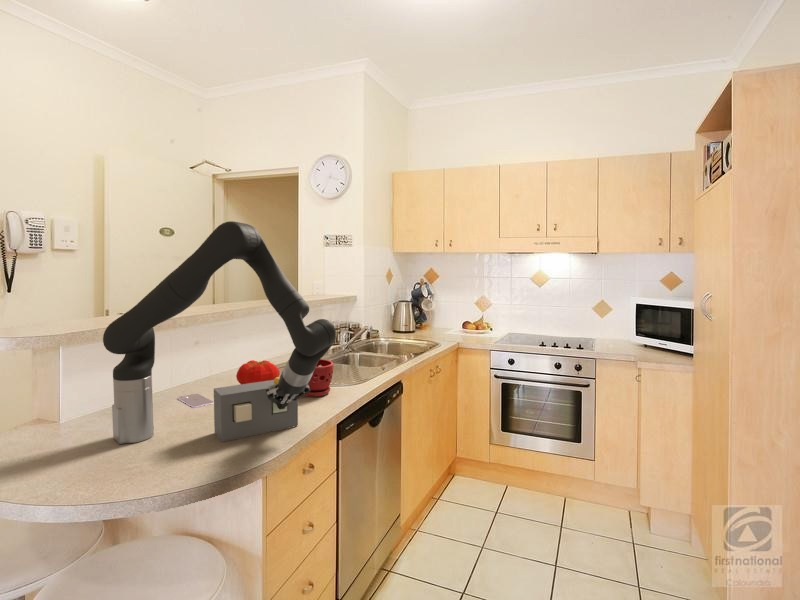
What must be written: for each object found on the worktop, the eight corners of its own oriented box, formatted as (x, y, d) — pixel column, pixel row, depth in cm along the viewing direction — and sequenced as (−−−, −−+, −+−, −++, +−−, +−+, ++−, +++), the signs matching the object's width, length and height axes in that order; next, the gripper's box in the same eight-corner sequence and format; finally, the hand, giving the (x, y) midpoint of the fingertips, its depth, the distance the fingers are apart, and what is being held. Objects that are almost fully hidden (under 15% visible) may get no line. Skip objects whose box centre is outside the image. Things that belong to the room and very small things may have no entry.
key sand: (251, 419, 128) (251, 404, 127) (236, 422, 125) (236, 407, 125) (247, 415, 131) (247, 401, 130) (232, 418, 128) (231, 403, 128)
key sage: (287, 410, 135) (287, 396, 135) (273, 413, 133) (273, 399, 132) (282, 407, 139) (282, 393, 138) (268, 409, 136) (268, 395, 136)
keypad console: (297, 426, 138) (297, 375, 137) (221, 441, 125) (220, 386, 124) (287, 418, 144) (287, 370, 143) (214, 432, 132) (213, 380, 130)
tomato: (286, 386, 181) (286, 361, 180) (247, 394, 169) (246, 368, 168) (268, 379, 191) (268, 356, 190) (230, 386, 179) (229, 361, 178)
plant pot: (297, 399, 164) (297, 366, 163) (297, 389, 176) (297, 358, 175) (334, 397, 167) (334, 365, 166) (331, 387, 179) (331, 357, 178)
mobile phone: (193, 406, 153) (176, 396, 163) (193, 409, 153) (176, 399, 163) (215, 401, 158) (197, 392, 169) (215, 404, 158) (197, 395, 169)
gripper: (315, 359, 128) (298, 391, 139) (269, 365, 120) (254, 398, 132) (324, 382, 124) (305, 413, 135) (276, 389, 117) (261, 422, 128)
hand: (280, 406), depth 133 cm, fingers closed
